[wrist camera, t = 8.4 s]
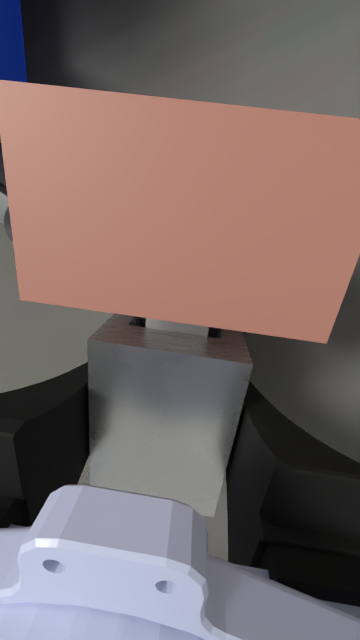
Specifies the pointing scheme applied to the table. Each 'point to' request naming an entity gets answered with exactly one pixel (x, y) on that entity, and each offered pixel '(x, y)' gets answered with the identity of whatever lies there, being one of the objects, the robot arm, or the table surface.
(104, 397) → the grey square socket block
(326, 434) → the table surface
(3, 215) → the grey ball end bar
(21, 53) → the bracket
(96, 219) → the pink block
